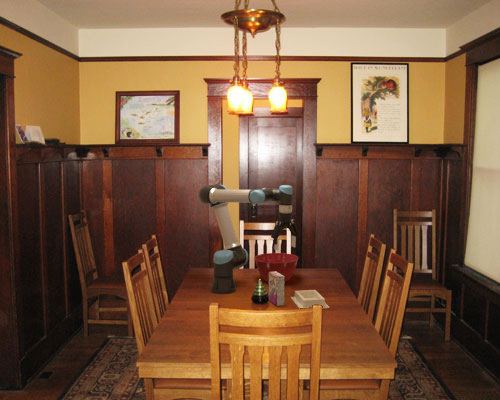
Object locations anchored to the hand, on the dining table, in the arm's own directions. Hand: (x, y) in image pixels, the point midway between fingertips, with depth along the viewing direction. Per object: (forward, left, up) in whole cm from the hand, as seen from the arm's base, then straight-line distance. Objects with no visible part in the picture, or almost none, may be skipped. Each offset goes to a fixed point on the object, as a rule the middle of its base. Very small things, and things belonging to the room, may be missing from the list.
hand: (285, 248), depth 271 cm
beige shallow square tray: (+9, -19, -27) cm, 34 cm away
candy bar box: (-9, -16, -27) cm, 32 cm away
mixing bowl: (+1, +27, -27) cm, 39 cm away
